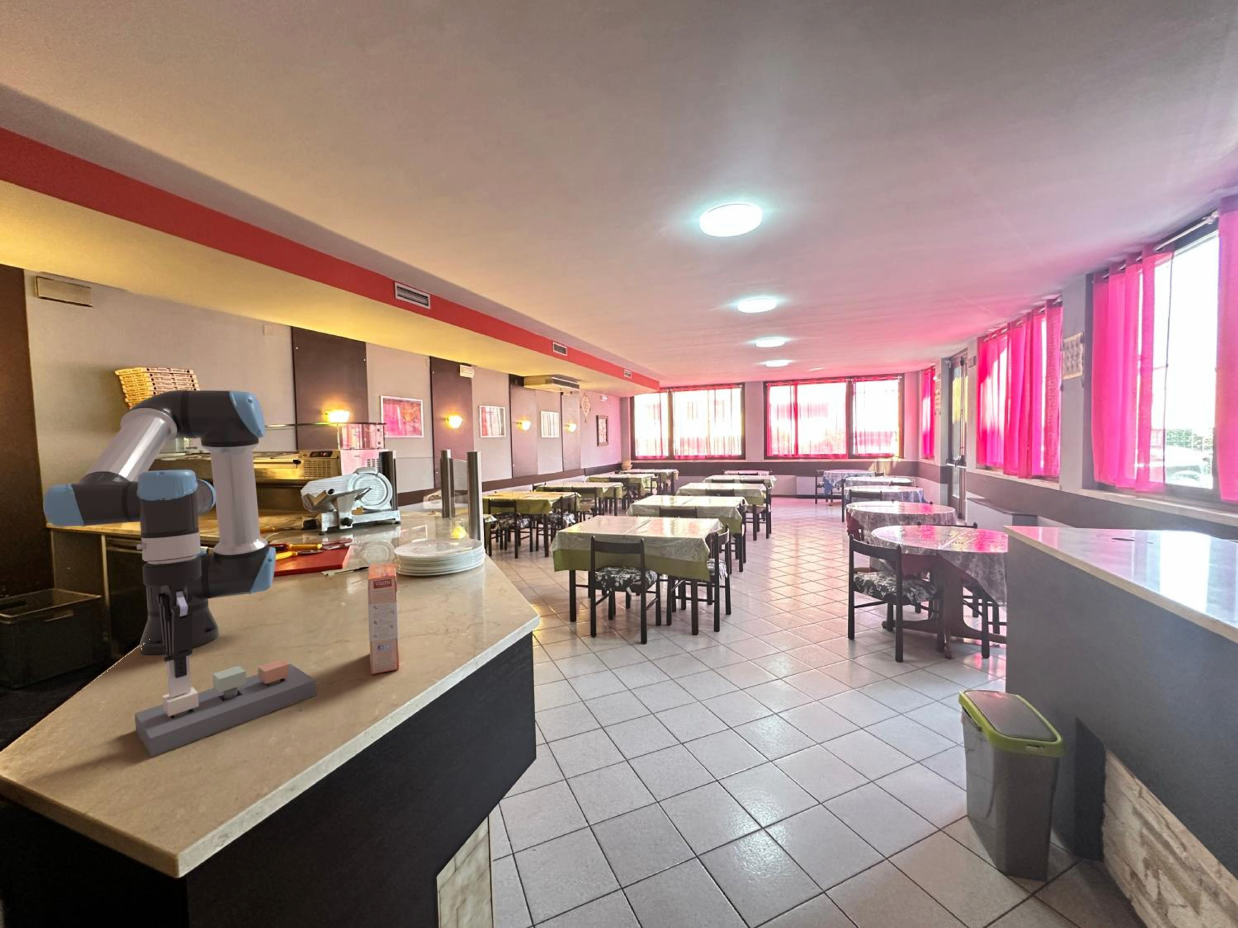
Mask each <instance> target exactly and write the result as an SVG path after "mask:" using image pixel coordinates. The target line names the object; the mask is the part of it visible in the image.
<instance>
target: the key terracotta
mask: <svg viewBox="0 0 1238 928" xmlns="http://www.w3.org/2000/svg"><path fill="white" fill-rule="evenodd" d="M289 664H290V663H287V662H286V661H284V660H283V659H278V660H274V661H271V662H268V663H265V664H261V665H258V666H257V674H258V678H259V679H260V680H261V681H262V682H264V683H265V684H267V683H268V686H270V685H273V684H276V683H279V682H280V679H282V678H285V677H288V676H289Z"/></svg>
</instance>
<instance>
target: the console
mask: <svg viewBox="0 0 1238 928" xmlns="http://www.w3.org/2000/svg"><path fill="white" fill-rule="evenodd" d="M288 664H289V676H288V677H285V678H282V679H280V682H279V683H276V684H273V685H270V686H268V683H267V684H265V683H264V682H262V681H261V680H260V679H259V678H258V673H257V674H254V675H251V676H246V684H244V685H241V686H238V687H237V697H235V698H232V699H229V700H226V701H224V693H223V692H219V691H218V690H217V689H216V688H215V687H213V688H210V689H207V690H204V691H200V692H198V700H199V706H198V707H195V708H192V709H189V713H187V714H184V715H181V716H178V717H175V718H174V715H171V716H168V715H167V714H166V712H165V711H164V710H163V703H162V704H159V705H156V706H153V707H149V708H147V709H144V710H141V711H137V712H134V721H135V731H136V733H137V735H138V736H139V738H140V740H141V741H142V742H143V744H144V746H145V748H146V750H147V752H148V754H149V755H150V757H155V756H158V755H160V754H163V753H165V752H168V751H170V750H173V749H176V748H179V747H181V746H184V745H187V744H189V743H192V742H195V741H197V740H201V739H203V738H205V737H207V736H208V737H209V736H211V735H213V734H215V733H216V734H217V733H219V732H222V731H224V730H226V729H231V728H232V727H234V726H237V725H240V724H243V723H245V722H249V721H252V720H253V719H257V718H259V717H262V716H265V715H267V714H270V713H273V712H275V711H277V710H279V709H280V710H281V709H282V708H283V709H284V708H286V707H288V706H290V705H293V704H297V703H299V702H302V701H304V700H306V699H309V698H312V697H314V696H317V682H316V679H315V678H313V677H311V676H310V675H309V674H307V673H306V672H304V671H302V670H301V669H300V668H298V667H296V666H295V665H293V664H291V663H288Z"/></svg>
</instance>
